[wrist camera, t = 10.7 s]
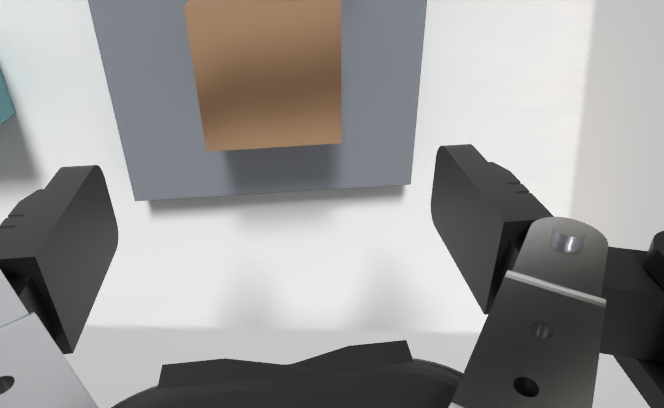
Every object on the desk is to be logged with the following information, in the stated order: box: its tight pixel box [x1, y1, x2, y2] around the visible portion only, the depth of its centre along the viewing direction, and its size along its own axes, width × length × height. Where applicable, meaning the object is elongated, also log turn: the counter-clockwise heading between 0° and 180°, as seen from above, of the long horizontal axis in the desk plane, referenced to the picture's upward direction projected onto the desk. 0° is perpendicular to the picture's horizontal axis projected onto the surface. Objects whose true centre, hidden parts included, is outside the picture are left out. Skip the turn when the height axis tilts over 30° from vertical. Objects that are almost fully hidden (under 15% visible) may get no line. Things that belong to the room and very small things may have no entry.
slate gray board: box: [88, 0, 427, 201], centre depth 25 cm, size 16×16×2 cm
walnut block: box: [184, 0, 342, 152], centre depth 22 cm, size 6×6×5 cm
